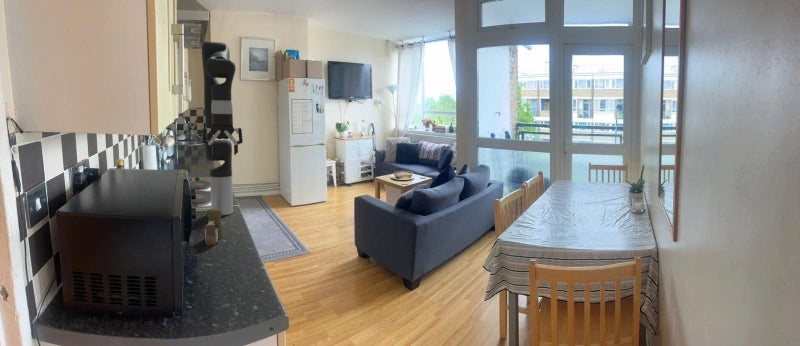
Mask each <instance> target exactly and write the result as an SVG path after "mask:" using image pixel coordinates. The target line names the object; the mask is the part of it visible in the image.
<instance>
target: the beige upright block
mask: <svg viewBox="0 0 800 346" xmlns="http://www.w3.org/2000/svg"><path fill="white" fill-rule="evenodd" d="M213 223H214V221H209V223H208V222H207V224H205V226H206V243H205V244H206V246H216V245H217V244H216V243H217V242H216V236H215V224H213Z"/></svg>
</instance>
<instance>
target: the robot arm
mask: <svg viewBox="0 0 800 346" xmlns="http://www.w3.org/2000/svg"><path fill="white" fill-rule="evenodd" d="M230 55H231V54H230V47H229V45H228V44H227V43H225V42H218V41H217V42H216V41H203V43H202V45H201V57H202V58H201V59H202V67H203V68H202V69H203V70H202V72H203V85H204V86H203V88H204V89H203V91H204V92H203V94H204V95H203V100H204V101H203V102H204V103H203V104H204V116H205V127H203V128H202V143H203V144H204V145H205V147H204V148H205V150H204V151H205V157H206V158H205V159H206V160H207V161H212V162H215V161H218V162H221V161H224V162H223V164H221V165H219V166H217V167H214V168H212V169H210V171H209V179H210V181H209V182H210V206H211V208H210V209H213V208H218V209H220V210H221V211H222V215H221V216H227V215H232V214H234V194H233V193H234V191H233V190H234V189H233V166H232V165H233V164H232V162H233V158H232V157H233V155H234V156H237V154H238V153H239V145H240V144H243V131H242V129H243V128H241V127H236V128H234V122H233V121H234V119H233V116H234V115H233V103H232V87H233V81H234V77H235V74H236V64H235V62H234V61H233V60H232V59H230ZM218 79H225V81H224V82H222V83H220V82H219V81H218ZM234 132H235V133H236V134H238V140H236V138H235V137H234V136H233V134H234ZM232 143H233V145H232ZM232 146H233V147H232Z"/></svg>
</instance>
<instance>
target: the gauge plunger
mask: <svg viewBox="0 0 800 346" xmlns="http://www.w3.org/2000/svg"><path fill="white" fill-rule="evenodd" d="M215 236H216V243H218V240H220V239H219V227H218V225H216V226H215ZM204 238H205V239H204V240H205V242H204V243H205V244H206V225H205V229H204Z"/></svg>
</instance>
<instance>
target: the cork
mask: <svg viewBox="0 0 800 346" xmlns="http://www.w3.org/2000/svg"><path fill="white" fill-rule="evenodd" d="M206 216H207V218H208V219H207V221H208V222H207V224H208V223H209V221H214V223H213V224H215V226H216V225H218V227H219V239H218V240H221V239H224V237H225V236H224V231H223V225H222V220H221V217H222V216H223V215H222V211H221V210H220V209H218V208H213V209H211V208H209V209H208V210H207V211H206Z"/></svg>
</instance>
